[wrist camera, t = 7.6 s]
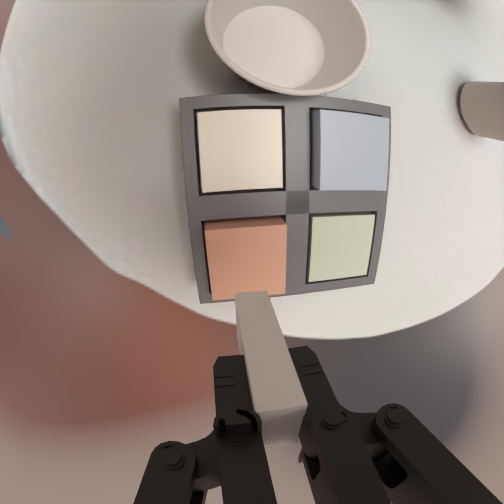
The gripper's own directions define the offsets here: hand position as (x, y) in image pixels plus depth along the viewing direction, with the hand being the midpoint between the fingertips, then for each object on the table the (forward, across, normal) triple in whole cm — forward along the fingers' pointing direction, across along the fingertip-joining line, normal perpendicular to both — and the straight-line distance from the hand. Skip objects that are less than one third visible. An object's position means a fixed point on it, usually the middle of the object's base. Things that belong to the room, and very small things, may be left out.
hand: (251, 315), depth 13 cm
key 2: (+10, +1, -1) cm, 10 cm away
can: (+13, +31, +16) cm, 37 cm away
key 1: (+12, +9, -1) cm, 15 cm away
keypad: (+13, +5, +3) cm, 15 cm away
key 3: (+10, +9, +8) cm, 16 cm away
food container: (+13, +4, +17) cm, 22 cm away
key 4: (+12, +1, +7) cm, 14 cm away
